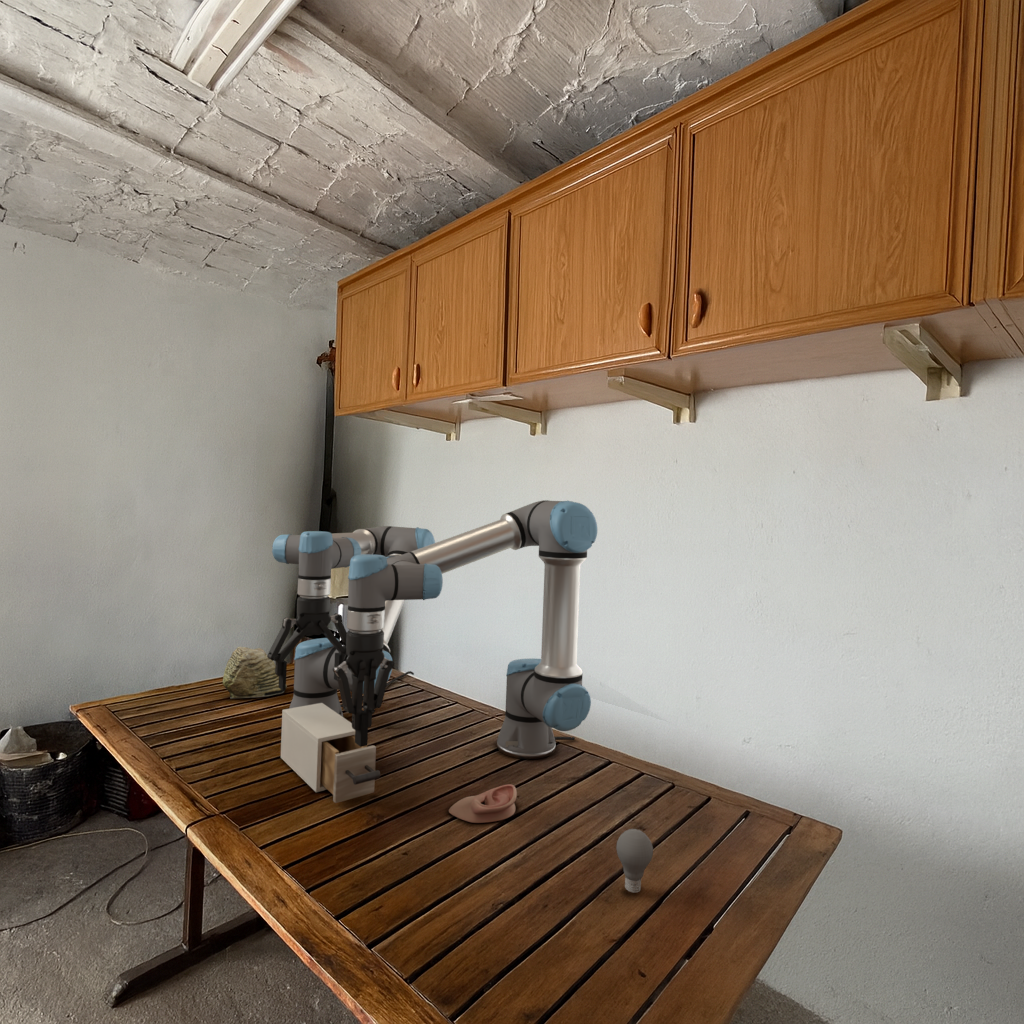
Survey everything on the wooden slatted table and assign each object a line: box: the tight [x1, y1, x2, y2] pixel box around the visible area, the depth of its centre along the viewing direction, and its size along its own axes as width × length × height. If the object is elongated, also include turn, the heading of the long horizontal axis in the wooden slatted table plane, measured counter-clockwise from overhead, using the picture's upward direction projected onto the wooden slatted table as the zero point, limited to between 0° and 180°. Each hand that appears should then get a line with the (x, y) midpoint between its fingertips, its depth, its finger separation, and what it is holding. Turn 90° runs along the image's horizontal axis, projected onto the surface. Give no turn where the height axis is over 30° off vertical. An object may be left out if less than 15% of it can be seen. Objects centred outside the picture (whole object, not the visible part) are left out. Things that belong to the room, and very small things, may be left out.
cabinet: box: [280, 703, 355, 793], centre depth 147 cm, size 22×10×12 cm, turn 39°
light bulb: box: [615, 828, 654, 894], centre depth 106 cm, size 6×6×10 cm
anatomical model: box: [448, 783, 518, 824], centre depth 131 cm, size 13×4×12 cm
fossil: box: [222, 646, 288, 699], centre depth 198 cm, size 9×18×15 cm, turn 132°
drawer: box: [320, 735, 381, 804], centre depth 138 cm, size 26×9×10 cm, turn 39°
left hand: (310, 684), depth 152 cm, fingers open, 13 cm apart
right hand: (361, 743), depth 131 cm, fingers closed
